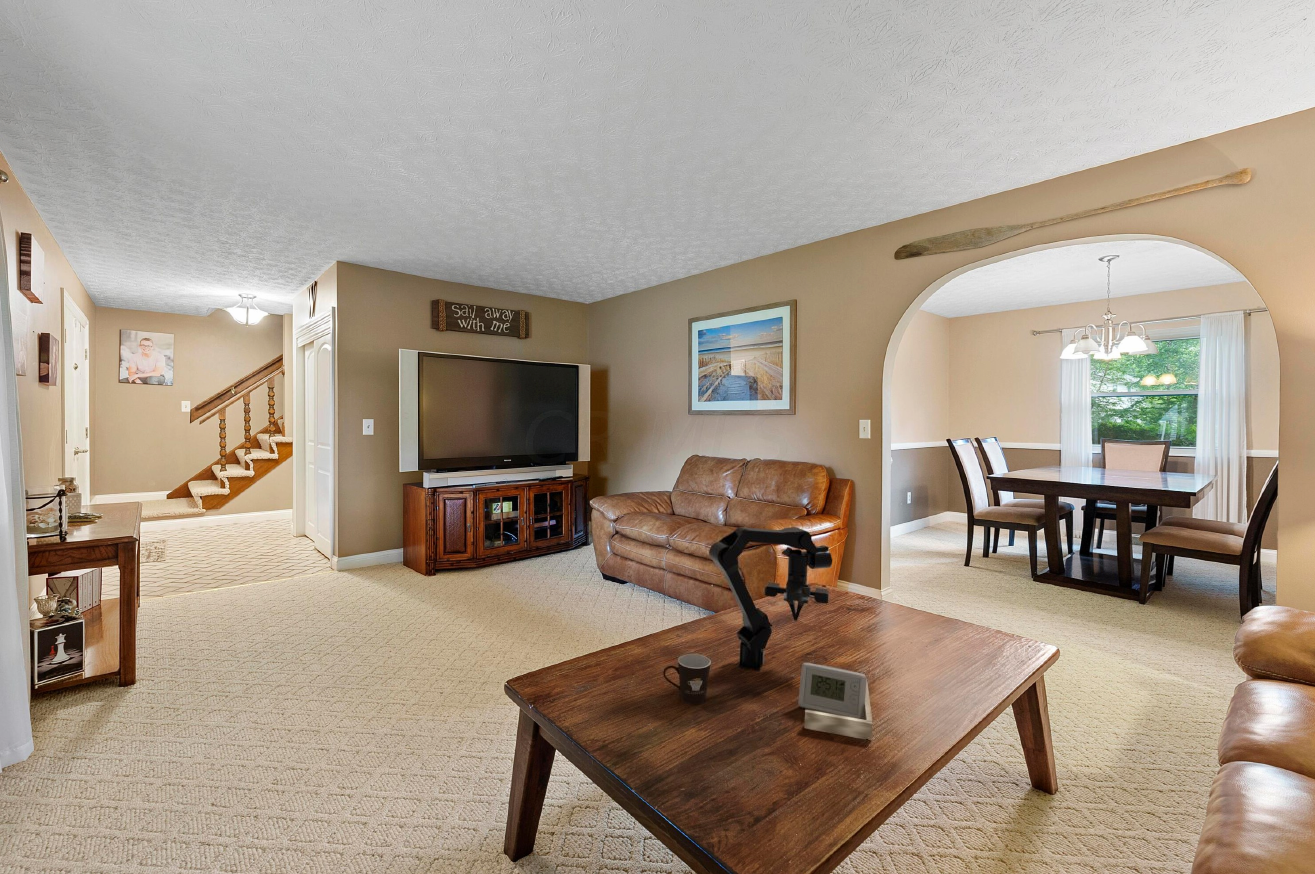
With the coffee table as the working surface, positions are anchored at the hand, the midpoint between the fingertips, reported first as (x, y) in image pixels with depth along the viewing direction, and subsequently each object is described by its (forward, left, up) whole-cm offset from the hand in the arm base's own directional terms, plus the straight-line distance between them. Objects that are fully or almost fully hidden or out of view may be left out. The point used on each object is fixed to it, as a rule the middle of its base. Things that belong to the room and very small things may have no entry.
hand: (795, 620), depth 179 cm
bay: (+12, -27, -12) cm, 32 cm away
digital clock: (+11, -28, -13) cm, 33 cm away
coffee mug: (-25, -34, -12) cm, 44 cm away
